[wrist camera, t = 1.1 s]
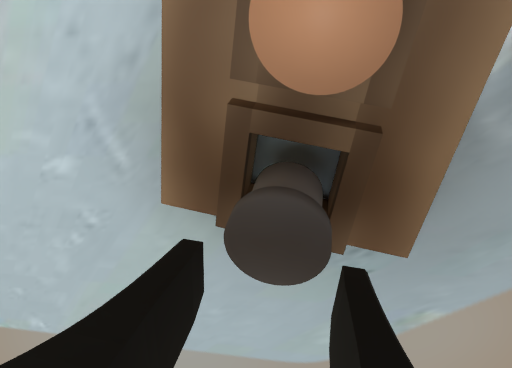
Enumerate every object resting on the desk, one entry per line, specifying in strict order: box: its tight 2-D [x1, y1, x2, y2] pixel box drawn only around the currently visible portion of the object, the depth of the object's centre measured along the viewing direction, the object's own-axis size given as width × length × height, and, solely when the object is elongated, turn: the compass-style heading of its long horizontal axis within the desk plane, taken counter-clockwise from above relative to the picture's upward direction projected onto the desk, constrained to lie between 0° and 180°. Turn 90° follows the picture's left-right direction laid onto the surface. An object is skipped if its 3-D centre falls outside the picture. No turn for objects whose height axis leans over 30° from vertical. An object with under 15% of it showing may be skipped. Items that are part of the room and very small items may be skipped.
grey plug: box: [224, 162, 332, 285], centre depth 14 cm, size 4×4×3 cm
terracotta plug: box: [249, 0, 403, 95], centre depth 11 cm, size 4×4×3 cm
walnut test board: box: [161, 0, 512, 258], centre depth 14 cm, size 12×24×3 cm, turn 173°
